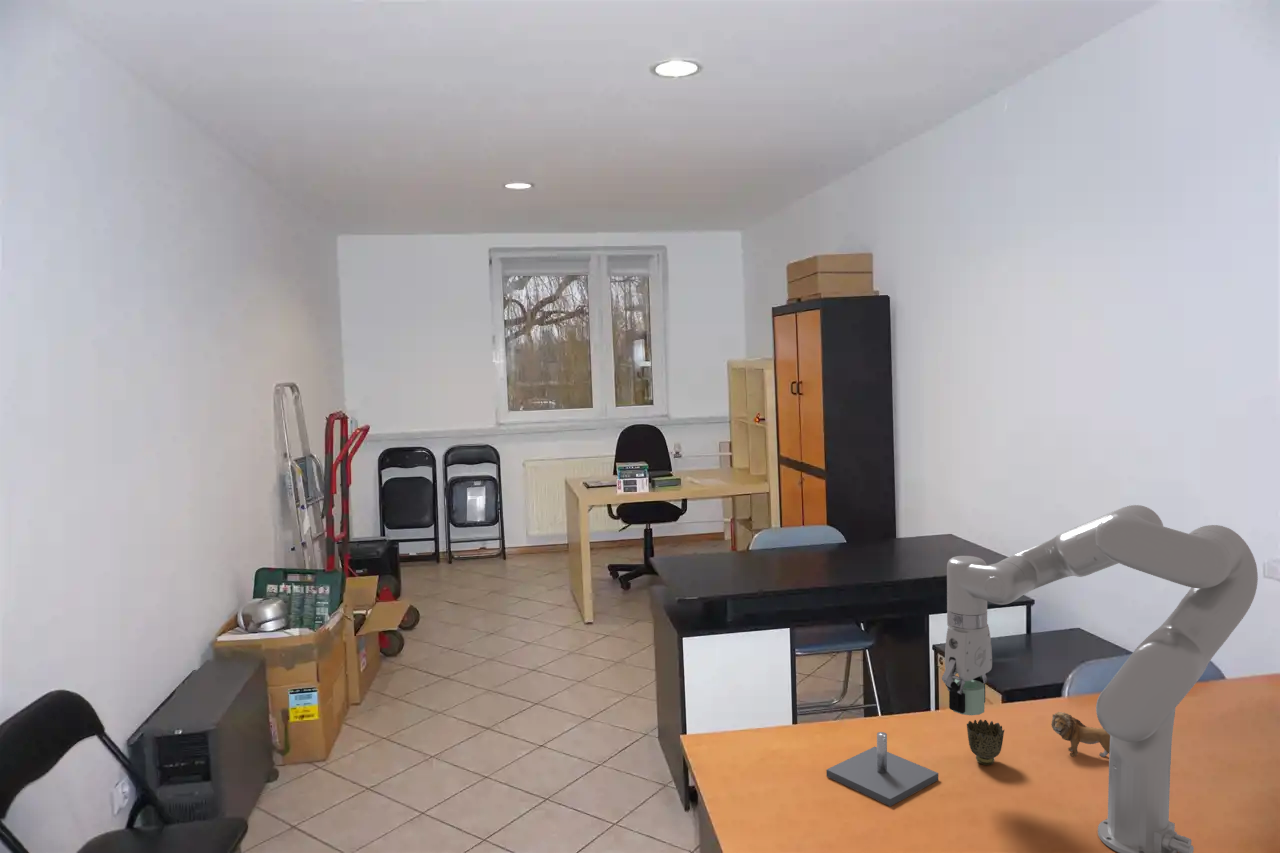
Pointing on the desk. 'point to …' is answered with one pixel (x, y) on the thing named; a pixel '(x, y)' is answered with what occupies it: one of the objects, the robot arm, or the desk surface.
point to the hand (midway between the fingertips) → (967, 705)
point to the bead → (973, 697)
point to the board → (882, 776)
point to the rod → (881, 752)
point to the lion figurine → (1079, 733)
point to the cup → (985, 740)
